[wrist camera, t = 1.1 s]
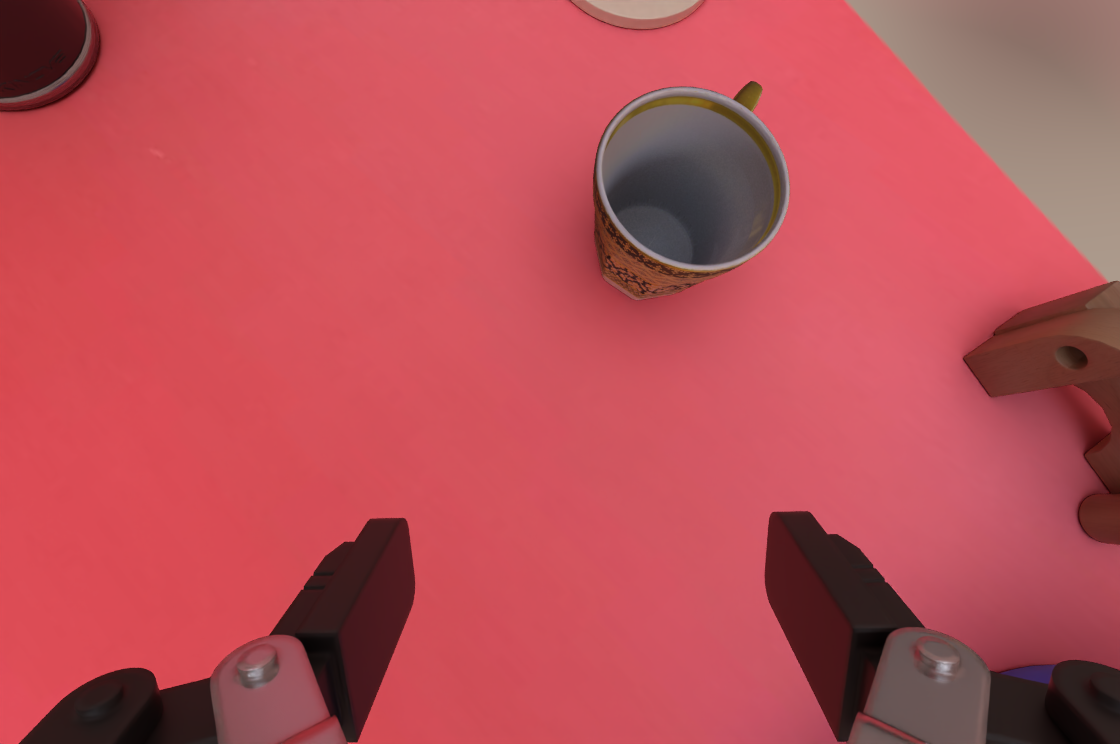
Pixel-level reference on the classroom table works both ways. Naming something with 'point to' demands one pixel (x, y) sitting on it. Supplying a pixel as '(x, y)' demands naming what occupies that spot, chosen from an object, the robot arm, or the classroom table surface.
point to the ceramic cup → (685, 189)
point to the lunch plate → (639, 11)
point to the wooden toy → (1067, 377)
